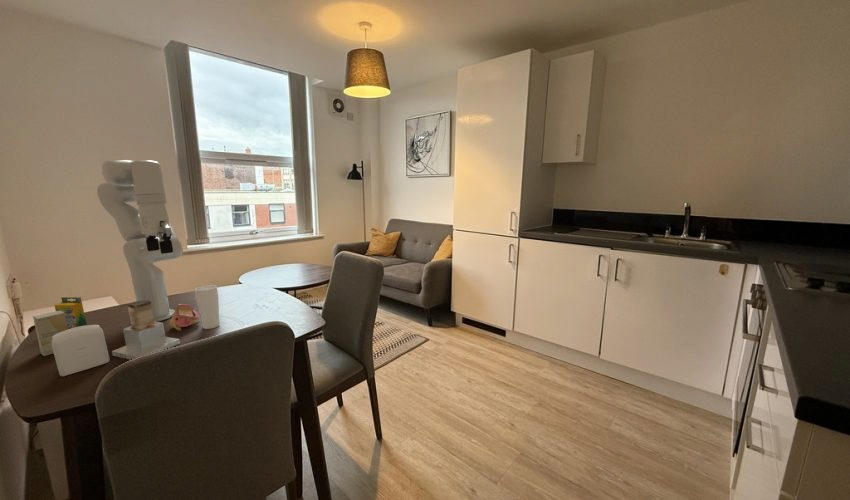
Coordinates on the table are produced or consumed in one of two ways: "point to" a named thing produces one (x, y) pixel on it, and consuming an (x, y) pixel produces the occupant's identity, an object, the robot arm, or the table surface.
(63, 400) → the table surface
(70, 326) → the crayon box
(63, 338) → the photo printer
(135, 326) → the column
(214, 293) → the drinking glass
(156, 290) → the robot arm
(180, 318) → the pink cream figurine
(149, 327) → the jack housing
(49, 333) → the skincare box
